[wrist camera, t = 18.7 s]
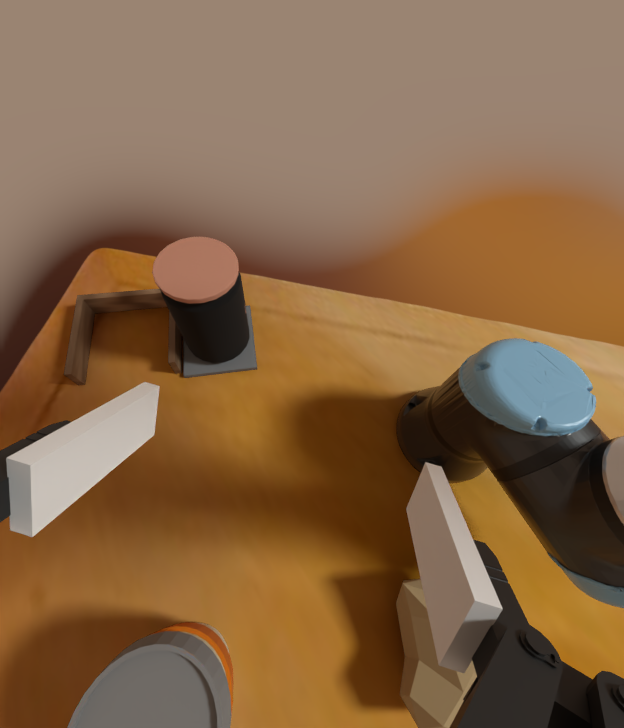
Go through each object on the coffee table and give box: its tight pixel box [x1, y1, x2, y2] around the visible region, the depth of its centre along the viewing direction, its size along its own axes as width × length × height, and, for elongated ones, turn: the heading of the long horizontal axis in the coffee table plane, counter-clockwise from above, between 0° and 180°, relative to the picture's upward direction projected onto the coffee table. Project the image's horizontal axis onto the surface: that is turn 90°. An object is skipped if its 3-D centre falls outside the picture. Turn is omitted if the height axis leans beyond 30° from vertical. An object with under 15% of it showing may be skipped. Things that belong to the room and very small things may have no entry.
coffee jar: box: [152, 237, 250, 363], centre depth 50 cm, size 11×11×18 cm
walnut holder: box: [64, 289, 182, 385], centre depth 56 cm, size 16×15×4 cm
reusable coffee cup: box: [67, 622, 233, 728], centre depth 32 cm, size 13×13×15 cm
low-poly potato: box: [396, 579, 477, 728], centre depth 38 cm, size 15×11×12 cm
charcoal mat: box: [184, 306, 257, 378], centre depth 58 cm, size 12×13×1 cm
